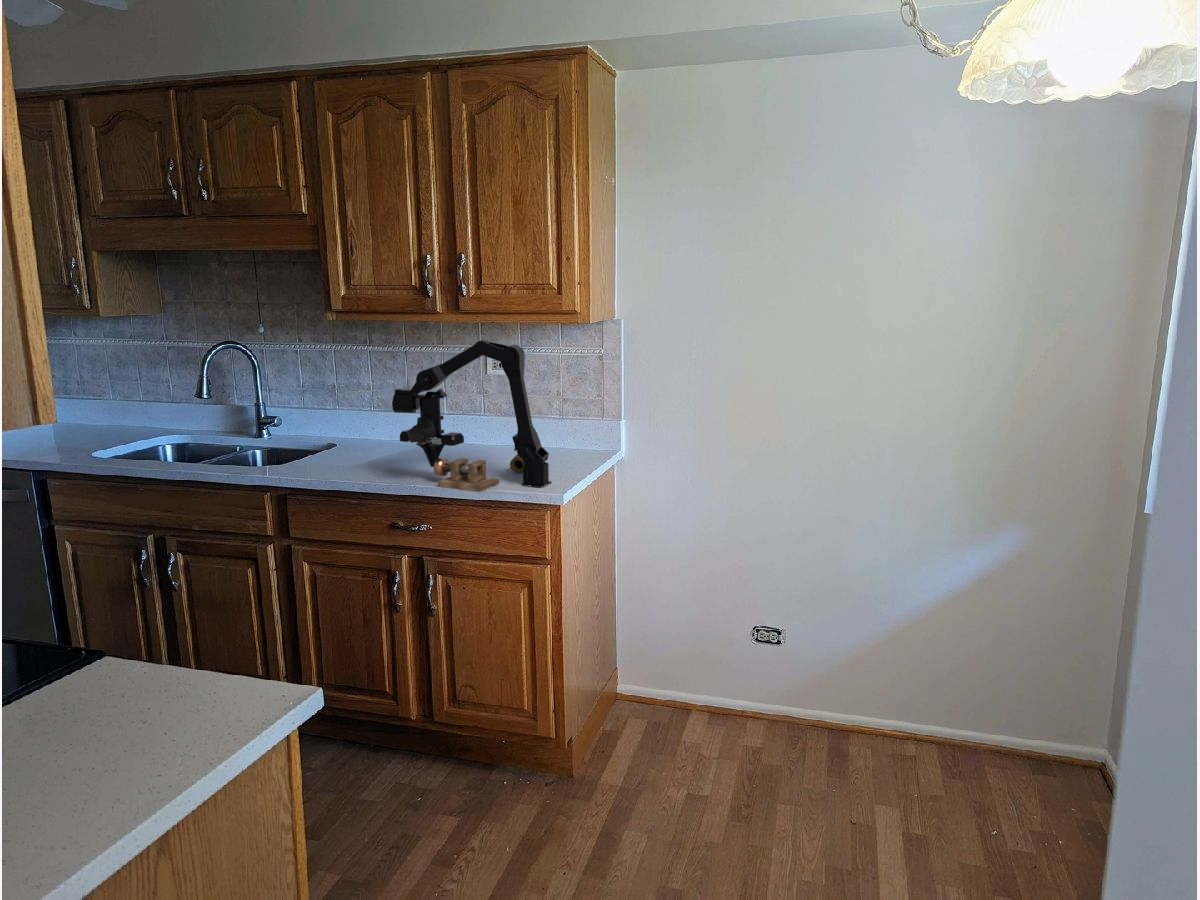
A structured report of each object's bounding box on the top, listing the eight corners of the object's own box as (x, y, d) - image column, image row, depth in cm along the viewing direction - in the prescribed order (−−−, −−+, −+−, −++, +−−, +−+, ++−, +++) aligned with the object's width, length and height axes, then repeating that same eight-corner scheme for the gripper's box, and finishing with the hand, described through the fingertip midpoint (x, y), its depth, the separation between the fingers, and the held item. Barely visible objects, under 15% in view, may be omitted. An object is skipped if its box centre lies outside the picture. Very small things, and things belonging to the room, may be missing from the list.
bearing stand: (499, 484, 245) (498, 460, 243) (480, 491, 236) (479, 467, 234) (457, 479, 250) (457, 455, 249) (437, 486, 242) (437, 462, 240)
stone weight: (525, 464, 271) (525, 443, 270) (546, 465, 269) (546, 444, 268) (508, 474, 257) (507, 452, 256) (530, 476, 255) (530, 454, 254)
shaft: (480, 477, 244) (480, 460, 243) (471, 481, 239) (470, 463, 238) (444, 473, 249) (443, 456, 248) (434, 476, 245) (433, 459, 244)
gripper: (385, 415, 241) (389, 469, 244) (441, 419, 233) (443, 475, 236) (410, 409, 251) (413, 461, 254) (464, 413, 243) (466, 467, 246)
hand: (432, 466), depth 247 cm, fingers closed
